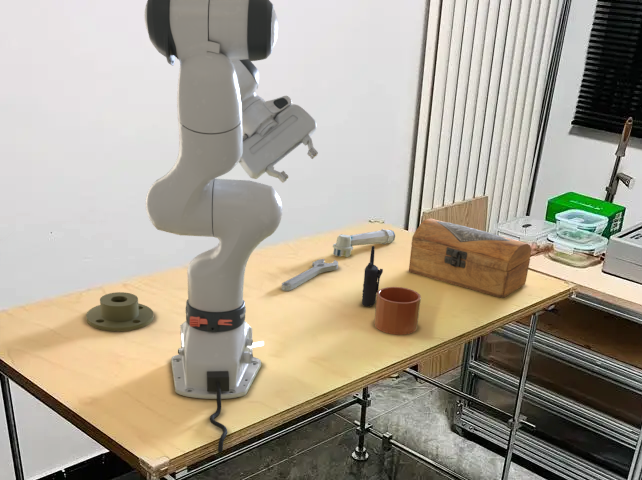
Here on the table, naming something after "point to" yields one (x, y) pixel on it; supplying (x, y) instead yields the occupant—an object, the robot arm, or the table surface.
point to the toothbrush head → (361, 241)
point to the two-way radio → (371, 282)
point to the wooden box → (469, 257)
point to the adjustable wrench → (309, 274)
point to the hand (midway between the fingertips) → (300, 167)
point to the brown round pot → (397, 310)
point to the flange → (119, 313)
